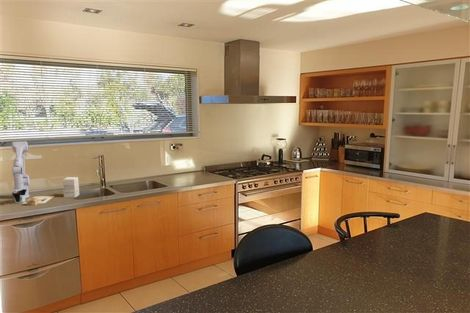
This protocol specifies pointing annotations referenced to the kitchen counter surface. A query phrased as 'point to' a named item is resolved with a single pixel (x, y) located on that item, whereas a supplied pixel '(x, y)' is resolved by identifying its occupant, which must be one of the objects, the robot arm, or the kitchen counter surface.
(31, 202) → the oak block
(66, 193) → the supplement box
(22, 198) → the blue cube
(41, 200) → the letter board
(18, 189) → the robot arm
